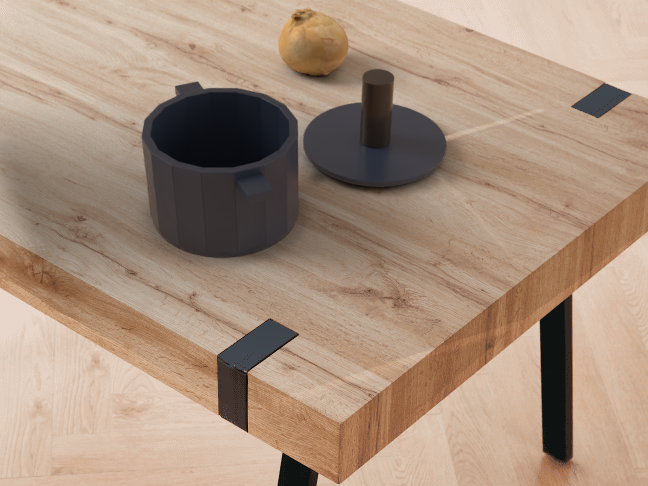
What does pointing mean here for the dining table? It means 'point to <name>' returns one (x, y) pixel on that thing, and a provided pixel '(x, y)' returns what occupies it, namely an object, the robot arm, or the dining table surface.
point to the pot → (221, 170)
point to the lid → (375, 138)
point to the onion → (312, 42)
